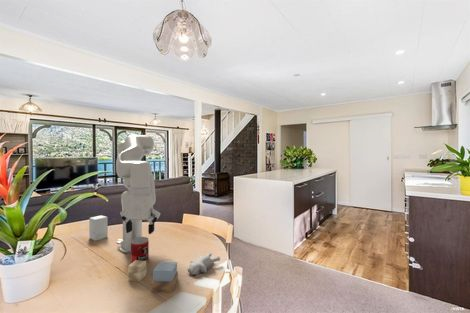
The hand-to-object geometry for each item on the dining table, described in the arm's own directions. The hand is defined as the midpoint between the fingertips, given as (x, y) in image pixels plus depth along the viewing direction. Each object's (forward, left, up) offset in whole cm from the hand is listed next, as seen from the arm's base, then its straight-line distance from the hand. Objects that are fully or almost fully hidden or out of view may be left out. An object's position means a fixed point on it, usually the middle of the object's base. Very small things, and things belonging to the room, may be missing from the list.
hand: (140, 232), depth 94 cm
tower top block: (+13, -4, -15) cm, 20 cm away
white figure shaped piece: (+24, +11, -19) cm, 33 cm away
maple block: (-1, 0, -19) cm, 19 cm away
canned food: (-7, +12, -19) cm, 23 cm away
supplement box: (-49, +37, -19) cm, 64 cm away
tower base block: (+13, -5, -19) cm, 24 cm away
